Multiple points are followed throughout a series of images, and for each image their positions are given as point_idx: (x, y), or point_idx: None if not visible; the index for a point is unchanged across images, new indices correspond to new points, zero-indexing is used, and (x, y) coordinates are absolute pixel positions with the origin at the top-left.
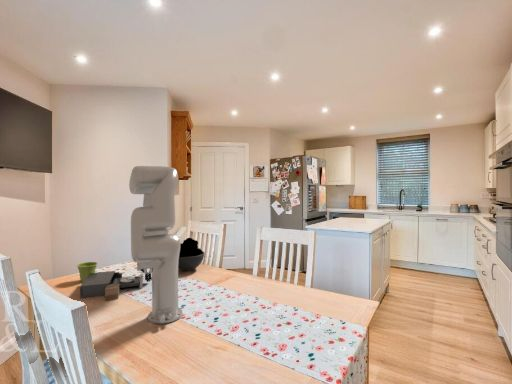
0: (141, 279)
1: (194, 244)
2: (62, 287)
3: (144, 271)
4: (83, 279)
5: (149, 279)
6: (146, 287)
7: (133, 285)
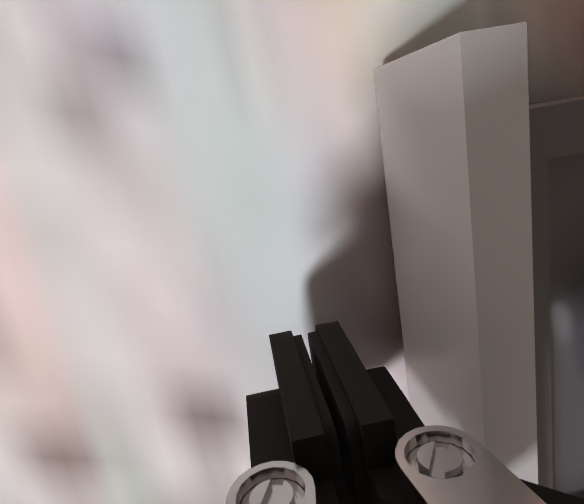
0: (479, 70)
1: None
2: None
3: (512, 494)
4: None
5: (278, 352)
6: (291, 137)
7: (576, 96)
